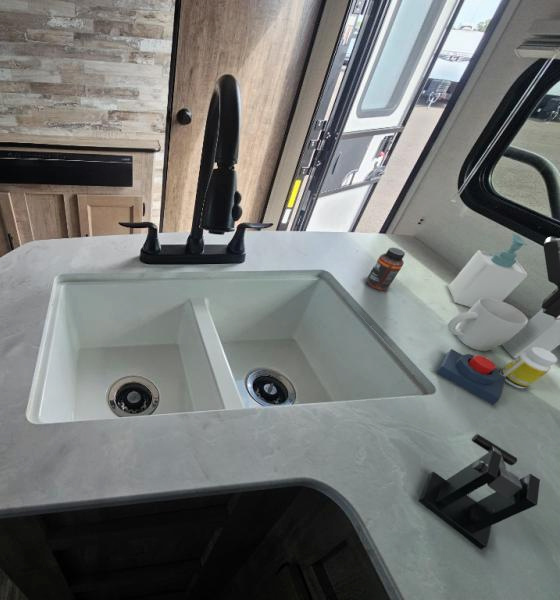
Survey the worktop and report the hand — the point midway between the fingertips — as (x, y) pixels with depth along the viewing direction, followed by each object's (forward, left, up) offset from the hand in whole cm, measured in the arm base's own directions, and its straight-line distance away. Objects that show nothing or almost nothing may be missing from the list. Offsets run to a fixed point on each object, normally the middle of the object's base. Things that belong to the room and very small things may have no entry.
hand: (549, 313), depth 47 cm
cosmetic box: (-9, -34, -25) cm, 43 cm away
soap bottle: (+4, -50, -25) cm, 56 cm away
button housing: (-2, -14, -25) cm, 29 cm away
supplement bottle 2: (-9, -22, -25) cm, 35 cm away
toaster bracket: (-6, +19, -25) cm, 32 cm away
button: (-2, -14, -21) cm, 26 cm away
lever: (-6, +15, -18) cm, 24 cm away
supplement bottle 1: (+24, -34, -25) cm, 49 cm away
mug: (+1, -28, -25) cm, 38 cm away
